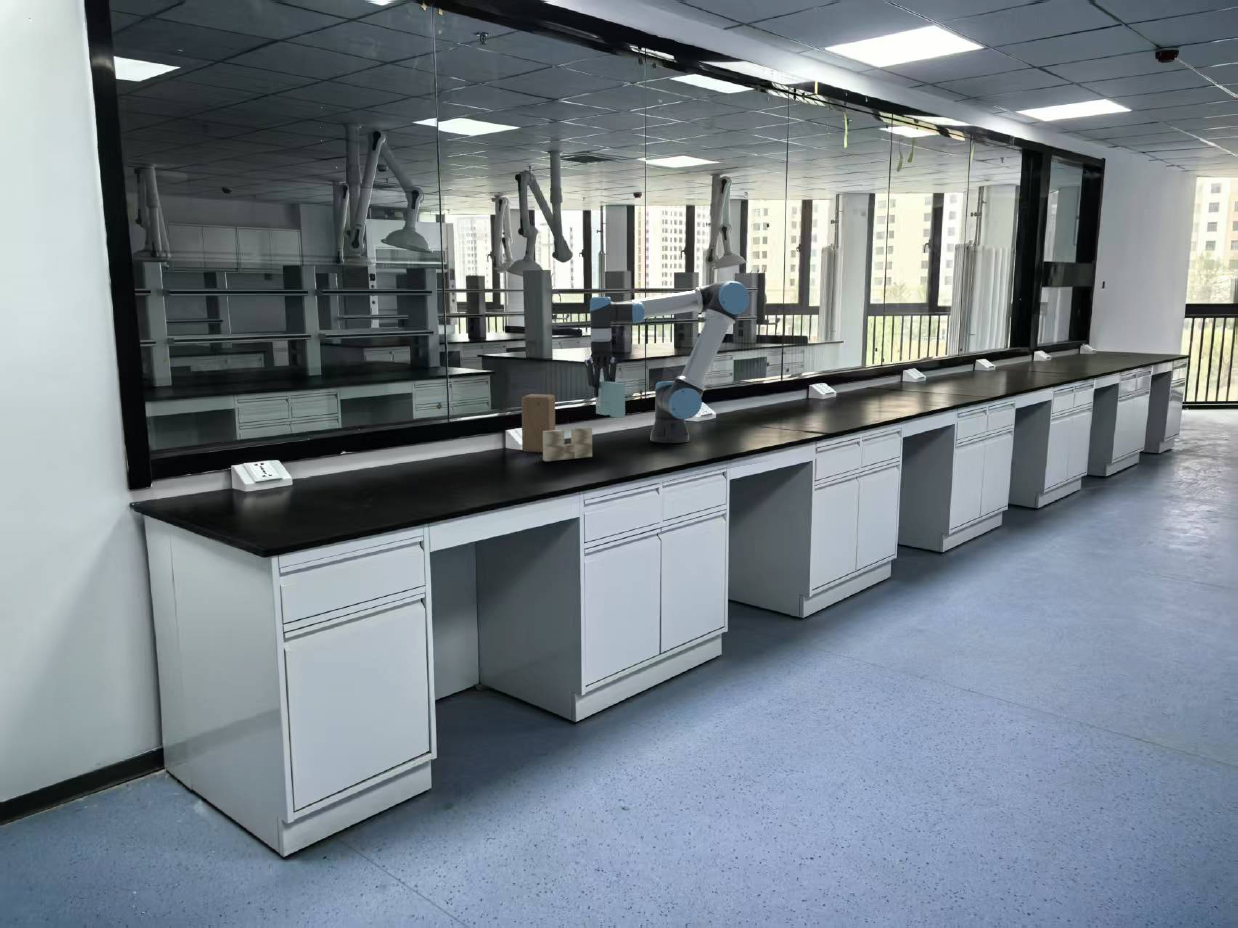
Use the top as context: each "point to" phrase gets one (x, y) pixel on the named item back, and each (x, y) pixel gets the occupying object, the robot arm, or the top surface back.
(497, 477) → the top surface
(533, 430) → the wooden block
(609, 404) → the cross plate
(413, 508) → the top surface
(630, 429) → the top surface
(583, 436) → the beige patterned panel
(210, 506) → the top surface
